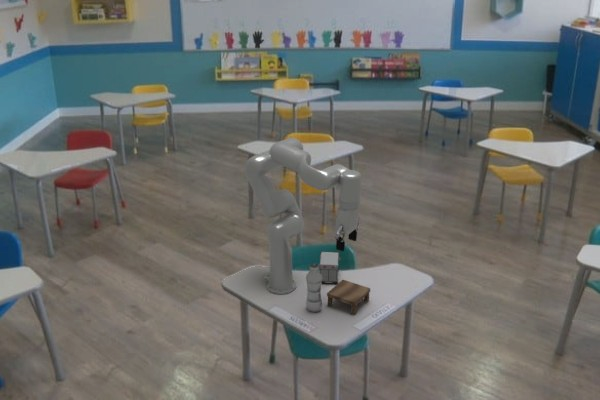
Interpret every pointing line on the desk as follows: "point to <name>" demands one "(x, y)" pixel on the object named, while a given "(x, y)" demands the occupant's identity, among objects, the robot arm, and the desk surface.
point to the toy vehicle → (329, 267)
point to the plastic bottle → (314, 288)
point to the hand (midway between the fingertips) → (346, 244)
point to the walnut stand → (348, 294)
